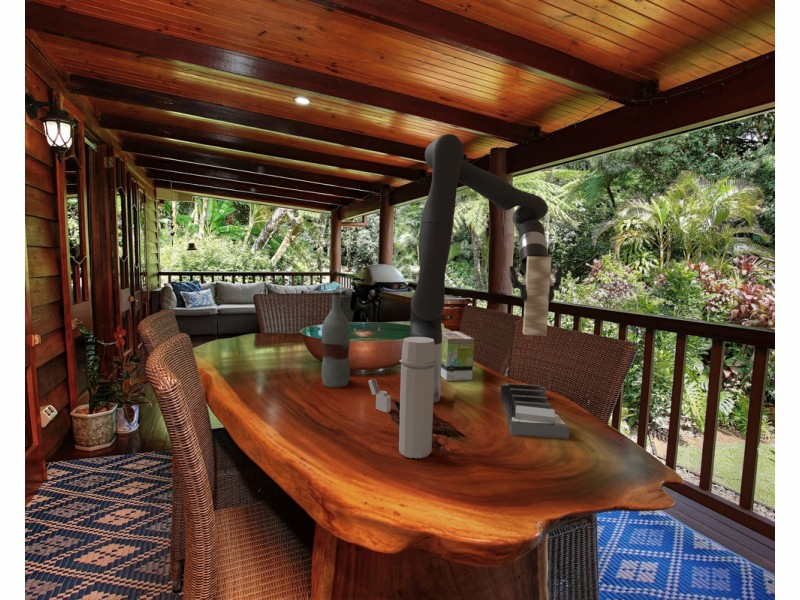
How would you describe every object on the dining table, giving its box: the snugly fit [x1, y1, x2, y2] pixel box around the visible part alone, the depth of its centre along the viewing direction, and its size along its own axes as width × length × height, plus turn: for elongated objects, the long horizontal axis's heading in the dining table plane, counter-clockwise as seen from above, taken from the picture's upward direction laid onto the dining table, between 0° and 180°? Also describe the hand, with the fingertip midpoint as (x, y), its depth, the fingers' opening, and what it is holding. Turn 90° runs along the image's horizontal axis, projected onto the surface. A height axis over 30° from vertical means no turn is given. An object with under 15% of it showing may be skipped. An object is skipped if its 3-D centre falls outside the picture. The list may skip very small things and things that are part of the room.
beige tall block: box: [522, 256, 552, 337], centre depth 116 cm, size 6×3×20 cm, turn 82°
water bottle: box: [398, 336, 437, 460], centre depth 98 cm, size 9×8×25 cm
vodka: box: [320, 291, 351, 388], centre depth 146 cm, size 9×9×30 cm
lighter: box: [367, 378, 392, 414], centre depth 125 cm, size 7×2×8 cm, turn 51°
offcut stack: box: [512, 405, 566, 425], centre depth 109 cm, size 11×7×4 cm, turn 82°
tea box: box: [441, 330, 475, 382], centre depth 161 cm, size 15×10×15 cm, turn 13°
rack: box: [499, 382, 570, 440], centre depth 120 cm, size 13×31×6 cm, turn 172°
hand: (537, 299), depth 115 cm, fingers closed on beige tall block, 5 cm apart
